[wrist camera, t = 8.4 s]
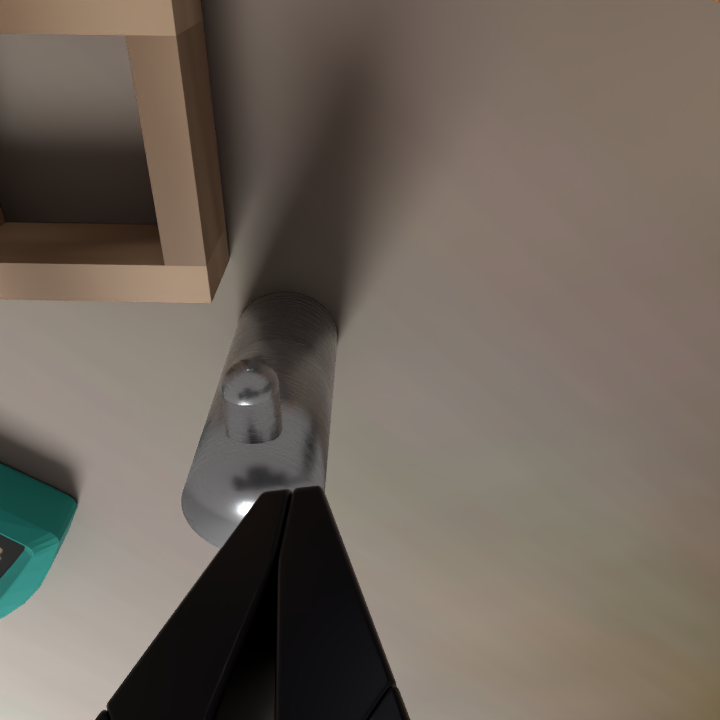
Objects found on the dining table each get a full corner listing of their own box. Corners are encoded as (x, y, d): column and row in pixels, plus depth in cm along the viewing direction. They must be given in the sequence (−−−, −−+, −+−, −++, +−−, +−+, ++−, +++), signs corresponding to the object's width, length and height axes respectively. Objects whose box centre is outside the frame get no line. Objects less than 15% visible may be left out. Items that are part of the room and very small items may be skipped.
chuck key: (336, 240, 18) (319, 394, 12) (338, 417, 22) (325, 601, 16) (227, 239, 18) (158, 391, 12) (246, 415, 22) (200, 599, 16)
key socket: (197, -32, 14) (168, -23, 12) (229, 259, 18) (211, 302, 16) (-119, -36, 15) (-200, -28, 12) (-20, 255, 18) (-70, 298, 16)
